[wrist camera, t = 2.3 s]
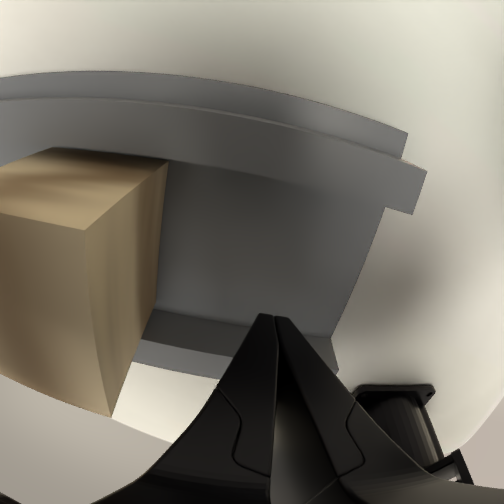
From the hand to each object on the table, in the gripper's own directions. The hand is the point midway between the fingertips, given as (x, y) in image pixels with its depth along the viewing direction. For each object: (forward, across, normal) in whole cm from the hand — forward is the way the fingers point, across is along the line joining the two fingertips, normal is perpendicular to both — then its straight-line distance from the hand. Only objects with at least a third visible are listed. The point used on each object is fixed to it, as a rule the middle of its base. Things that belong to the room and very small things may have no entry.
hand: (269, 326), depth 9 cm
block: (+4, +7, 0) cm, 8 cm away
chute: (+5, +6, 0) cm, 8 cm away
